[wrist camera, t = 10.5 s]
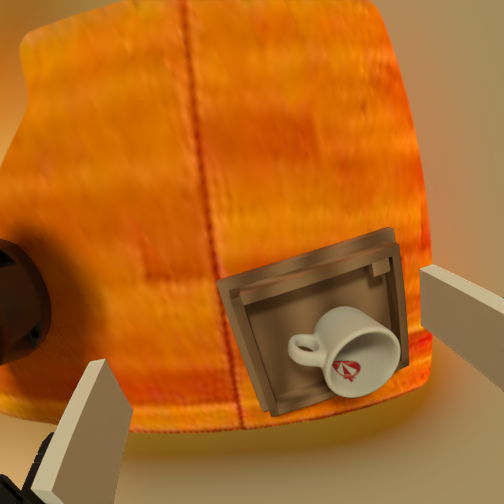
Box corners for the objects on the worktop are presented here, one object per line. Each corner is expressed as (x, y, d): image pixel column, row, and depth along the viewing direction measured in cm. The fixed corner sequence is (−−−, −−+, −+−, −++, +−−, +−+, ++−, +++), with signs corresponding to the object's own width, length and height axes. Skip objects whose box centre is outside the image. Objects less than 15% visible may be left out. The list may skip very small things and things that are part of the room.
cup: (274, 359, 36) (289, 402, 28) (284, 294, 34) (304, 328, 26) (360, 357, 37) (388, 395, 29) (375, 297, 35) (410, 327, 28)
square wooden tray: (261, 405, 38) (265, 424, 35) (216, 280, 34) (216, 292, 30) (402, 354, 39) (415, 368, 36) (388, 226, 35) (405, 232, 31)
